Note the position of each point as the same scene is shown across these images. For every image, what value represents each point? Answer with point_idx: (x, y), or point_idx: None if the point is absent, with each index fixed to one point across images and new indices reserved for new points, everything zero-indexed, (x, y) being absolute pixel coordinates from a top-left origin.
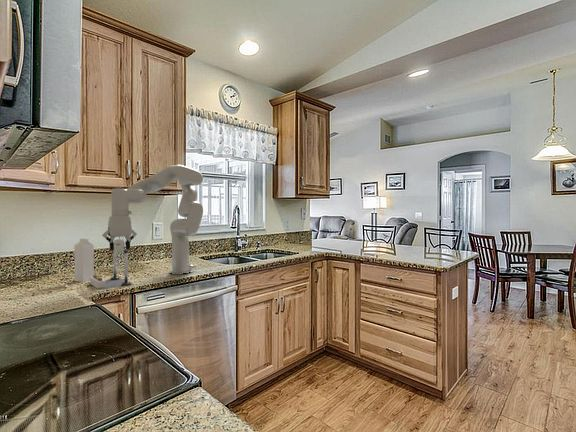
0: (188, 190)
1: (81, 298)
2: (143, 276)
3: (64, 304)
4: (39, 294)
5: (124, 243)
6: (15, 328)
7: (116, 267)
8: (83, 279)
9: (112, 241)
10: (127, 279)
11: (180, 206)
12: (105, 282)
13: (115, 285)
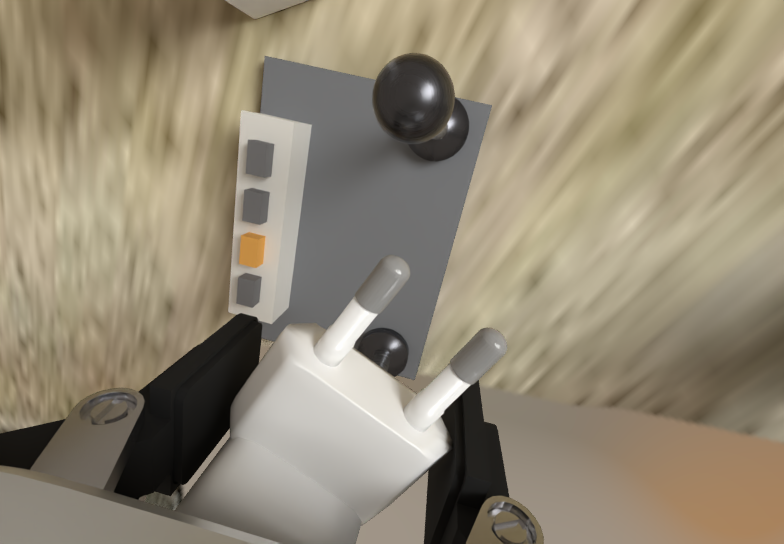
0: None
1: (163, 363)
2: (686, 139)
3: (101, 389)
4: (25, 121)
5: (370, 518)
6: None
7: (442, 133)
8: (241, 7)
9: (134, 498)
10: None
11: None
12: (274, 318)
13: (340, 313)
